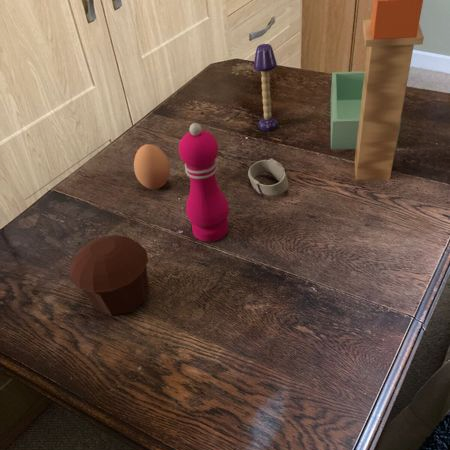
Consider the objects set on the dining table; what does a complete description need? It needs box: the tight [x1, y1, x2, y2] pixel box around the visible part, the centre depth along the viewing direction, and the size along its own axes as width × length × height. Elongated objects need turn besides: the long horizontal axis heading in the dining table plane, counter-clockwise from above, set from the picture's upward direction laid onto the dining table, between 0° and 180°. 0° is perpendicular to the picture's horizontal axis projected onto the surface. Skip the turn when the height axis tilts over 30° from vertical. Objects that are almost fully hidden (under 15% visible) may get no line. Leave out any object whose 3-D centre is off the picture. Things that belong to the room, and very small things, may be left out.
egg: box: [133, 143, 171, 190], centre depth 94 cm, size 7×7×9 cm
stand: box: [354, 19, 425, 181], centre depth 83 cm, size 8×8×26 cm
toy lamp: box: [253, 43, 278, 132], centre depth 103 cm, size 5×5×17 cm
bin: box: [330, 70, 402, 150], centre depth 103 cm, size 13×22×6 cm, turn 172°
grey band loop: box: [247, 157, 290, 196], centre depth 91 cm, size 9×6×5 cm
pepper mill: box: [178, 122, 230, 243], centre depth 79 cm, size 7×7×20 cm
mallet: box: [370, 0, 424, 39], centre depth 74 cm, size 6×16×5 cm, turn 172°
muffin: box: [69, 234, 149, 317], centre depth 74 cm, size 12×11×10 cm
